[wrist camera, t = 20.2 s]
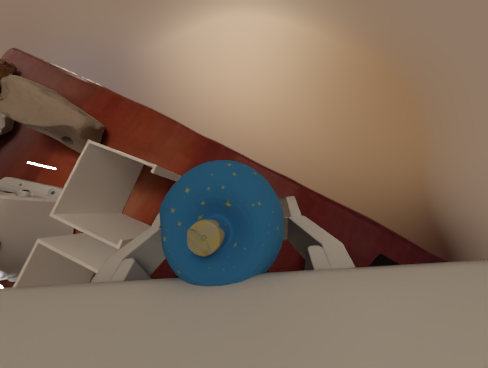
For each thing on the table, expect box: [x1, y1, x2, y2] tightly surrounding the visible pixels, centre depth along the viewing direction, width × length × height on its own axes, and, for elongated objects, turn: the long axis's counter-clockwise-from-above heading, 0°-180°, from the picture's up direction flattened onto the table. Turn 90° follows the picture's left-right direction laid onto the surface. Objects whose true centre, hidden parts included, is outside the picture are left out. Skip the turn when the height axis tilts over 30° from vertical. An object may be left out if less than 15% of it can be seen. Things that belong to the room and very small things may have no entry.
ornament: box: [160, 160, 284, 286], centre depth 11 cm, size 5×5×15 cm
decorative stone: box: [0, 74, 105, 154], centre depth 32 cm, size 20×8×10 cm, turn 56°
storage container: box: [13, 139, 182, 287], centre depth 26 cm, size 25×11×11 cm, turn 159°
